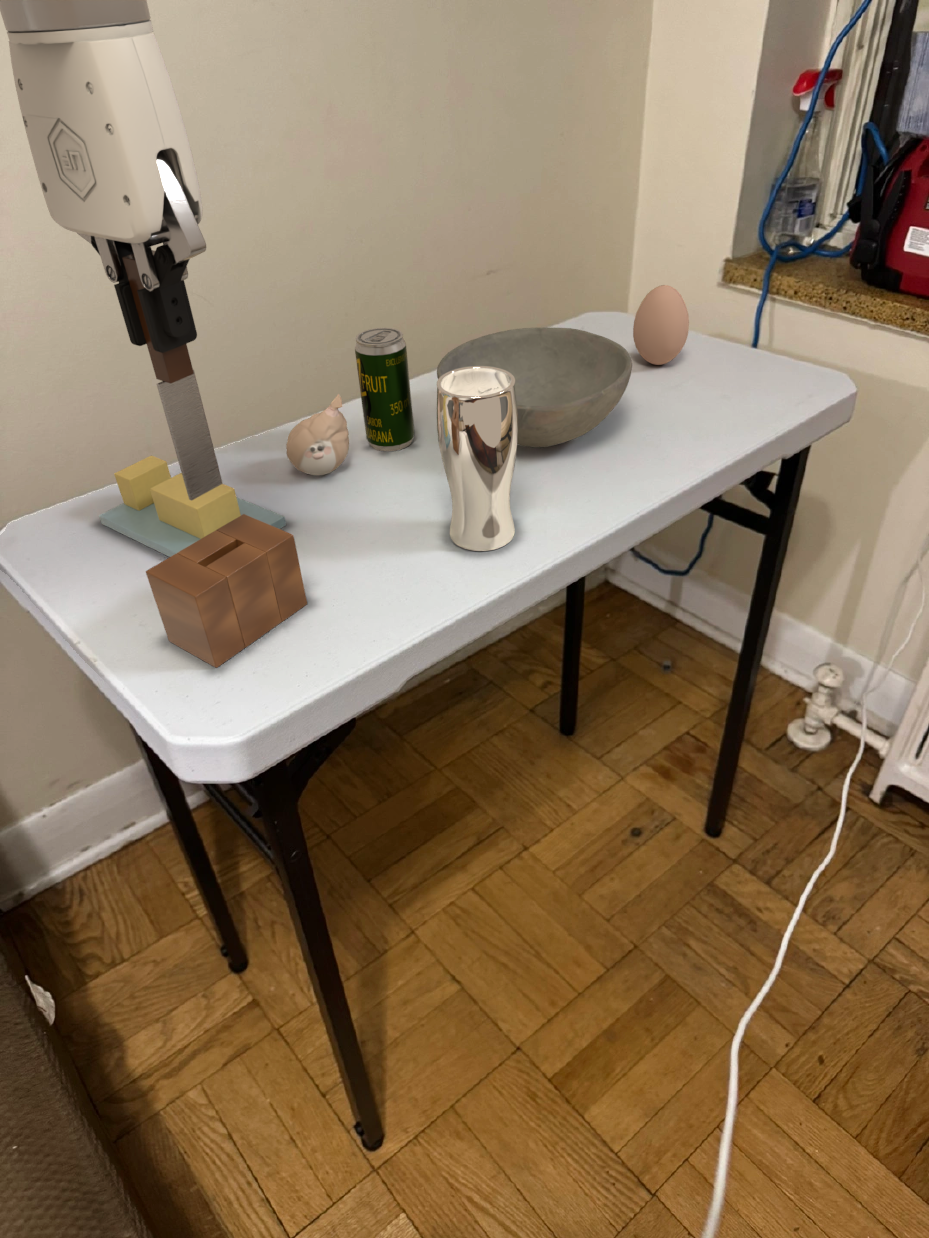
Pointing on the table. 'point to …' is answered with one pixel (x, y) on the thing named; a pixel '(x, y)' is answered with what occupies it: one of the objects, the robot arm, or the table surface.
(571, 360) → the bowl
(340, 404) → the garlic bulb
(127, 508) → the butter dish
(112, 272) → the robot arm
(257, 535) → the knife block
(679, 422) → the table surface
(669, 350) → the egg
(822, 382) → the table surface
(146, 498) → the butter slice
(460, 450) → the beer glass
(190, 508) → the butter
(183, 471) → the knife
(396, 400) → the green soda can
